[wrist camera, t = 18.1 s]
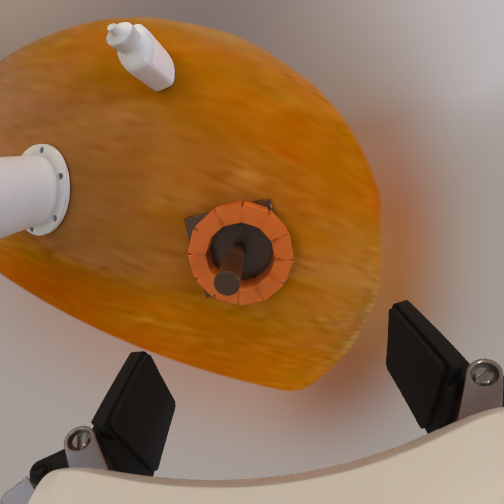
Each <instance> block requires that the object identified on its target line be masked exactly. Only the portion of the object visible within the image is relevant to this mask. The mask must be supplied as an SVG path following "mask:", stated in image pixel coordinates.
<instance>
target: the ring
mask: <svg viewBox="0 0 504 504" xmlns="http://www.w3.org/2000/svg"><path fill="white" fill-rule="evenodd" d="M237 223H245V224H248V225H251V226H254V227H257V228H259V229H260V230H261V231H262V232H263V233H264V234H265V235H266V236H267V237H268V238H269V240H270V241H271V242H272V247H273V252H274V253H273V256H272V259H271V262H270V264H269V267H268V268H267V269H266V270H264V271H263V272H262V273H261V274H260V275H258V276H257V277H256V278H251V279H245V280H241V283H240V288H239V290H238V291H237V292H236V293H235V294H233V295H230V296H225V295H222V294H220V293H219V292H217V291H216V289H215V287H214V278H215V276H216V273H217V271H218V268H217V267H216V266H215V265H214V263H213V259H212V256H211V252H210V246H211V242H212V239H213V235H214V234H216V233H217V232H218V231H219V230H220V229H221V228H222V227H223V226H228V225H232V224H237ZM187 253H189V254H188V255H187V256H188V260H189V263H190V267H191V270H192V273H193V277H194V278H196V277H197V278H196V281H197V282H198V283H199V284H200V285H201V286H202V287H203V288H204V289H205V290H206V291H207V292H208V293H209V294H210V295H211V296H214V295H215V299H219V300H222V301H225V302H228V303H232V304H235V305H237V304H238V301H239V305H244V304H250V303H256V302H261V301H263V298H264V299H265V300H266V299H268V298H269V297H270V296H271V295H273V294H274V293H275V292H276V291H278V290H279V289H280V288H281V287H283V283H286V280H287V278H288V275H289V272H290V270H291V267H292V265H293V259H294V255H293V249H292V244H291V238H290V234H289V232H288V230H287V228H286V226H285V225H284V224H283V223H282V222H281V221H280V219H279V218H278V217H277V216H276V215H275V214H274V213H273V212H272V210H269V211H268V208H267V207H264V206H261V205H258V204H255V203H252V202H249V201H245V202H244V204H243V201H242V200H241V201H236V202H232V203H227V204H223V205H219V206H218V207H216V208H214V209H213V210H212V211H211V212H210V213H209V214H208V215H207V216H206V217H205V218H203V219H202V220H201V221H200V222H199V223H198V224H197V225H196V226H195V229H194V230H193V232H192V236H191V240H190V244H189V248H188V251H187Z"/></svg>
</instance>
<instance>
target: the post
mask: <svg viewBox="0 0 504 504" xmlns="http://www.w3.org/2000/svg"><path fill="white" fill-rule="evenodd" d="M252 203H255V204H258V205H261V206H264V207H267V208H268V211H269V210H272V206H271V201H270V199H265V200H260V201H255V202H252ZM272 212H273V211H272ZM209 213H210V212H207V213H202V214H198V215H194V216H190V217H187V218H186V219H184V220H185V224H186V228H187V232H188V235H189V239H190V240H191V236H192V232H193V230H194V229H195V226H196V225H197V224H198V223H199V222H200V221H201V220H202V219H203V218H205V217H206V216H207V215H208V214H209ZM210 252H211V256H212V259H213V263H214V265H215V266H216V267H217V268H218V271H217V273H216V276H215V278H214V287H215V289H216V291H217V292H219V293H220V294H222V295H225V296H230V295H233V294H235V293H236V292H237V291H238V290H239V288H240V283H241V280H245V279H251V278H256V277H257V276H258V275H260V274H261V273H262V272H263V271H264V270H266V269H267V268H268V267H269V264H270V262H271V259H272V256H273V253H274V252H273V247H272V242H271V241H270V240H269V238H268V237H267V236H266V235H265V234H264V233H263V232H262V231H261V230H260V229H259V228H257V227H254V226H251V225H248V224H245V223H237V224H232V225H228V226H223V227H222V228H221V229H220V230H219V231H218V232H217V233H216V234H214V235H213V239H212V242H211V246H210ZM286 283H287V280H286ZM204 291H205V294H206V297H207V298H208V297H213V296H211V295H210V294H209V293H208V292H207V291H206V290H205V289H204ZM214 296H215V295H214Z"/></svg>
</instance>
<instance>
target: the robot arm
mask: <svg viewBox="0 0 504 504" xmlns="http://www.w3.org/2000/svg"><path fill="white" fill-rule="evenodd" d="M69 196H70V179H69V173H68V169H67V166H66V163H65V161H64V159H63V156H62V155H61V154H60V152H59V151H58V150H57V149H56V148H54V147H53V146H51V145H48V144H36V145H34V146H31V147H30V148H28V149H27V150H26V151H25V152H24V153H23V154H22V156H10V157H0V239H2V238H4V237H7V236H9V235H12V234H15V233H17V232H20V231H23V230H27V231H28V232H30V233H31V234H34V235H39V236H41V235H45V234H48V233H50V232H52V231H54V230H55V229H56V228H57V227H58V226H59V225H60V223H61V222H62V220H63V218H64V216H65V214H66V211H67V208H68V203H69ZM386 365H387V369H388V371H389V373H390V374H391V376H392V378H393V380H394V381H395V383H396V385H397V386H398V388H399V390H400V391H401V394H402V395H403V397H404V399H405V401H406V402H407V404H408V406H409V408H410V410H411V411H412V413H413V415H414V417H415V419H416V421H417V422H418V424H419V426H420V427H421V428H425V429H426V431H427V433H428V434H427V435H425V436H422V437H420V438H418V439H415V440H413V441H411V442H408V443H405V444H403V445H401V446H397V447H395V448H392V449H389V450H387V451H384V452H381V453H378V454H375V455H372V456H369V457H365V458H362V459H359V460H355V461H351V462H348V463H344V464H340V465H336V466H332V467H327V468H323V469H319V470H313V471H308V472H303V473H296V474H290V475H283V476H275V477H266V478H255V479H240V480H187V479H171V478H161V477H153V475H154V471H156V470H157V469H158V467H159V464H160V460H161V456H162V453H163V449H164V445H165V442H166V438H167V434H168V431H169V427H170V424H171V421H172V417H173V414H174V410H175V401H174V399H173V397H172V395H171V393H170V391H169V390H168V388H167V386H166V384H165V382H164V380H163V378H162V377H161V375H160V373H159V371H158V369H157V367H156V365H155V363H154V361H153V359H152V357H151V356H150V355H149V354H147V353H146V352H144V351H142V352H132V353H130V355H129V356H128V358H127V360H126V361H125V364H124V365H123V367H122V368H121V370H120V372H119V373H118V375H117V377H116V379H115V380H114V382H113V384H112V385H111V387H110V389H109V391H108V393H107V394H106V396H105V398H104V400H103V402H102V403H101V405H100V407H99V409H98V411H97V412H96V414H95V416H94V418H93V420H92V422H91V423H92V424H93V425H94V427H93V429H91V428H90V427H87V426H80V427H76V428H75V429H73V430H71V431H70V432H69V433H68V434H67V436H66V438H65V440H64V447H65V449H63V450H61V451H59V452H57V453H55V454H53V455H50V456H48V457H46V458H44V459H42V460H39V461H38V462H36V463H35V464H34V465H33V466H32V468H31V470H30V479H29V478H28V477H26V478H25V479H23V480H22V481H21V482H19V483H18V484H17V485H16V486H14V487H13V488H12V489H11V490H9V491H8V492H7V493H5V494H4V495H3V497H2V499H1V504H504V376H503V371H502V368H501V367H500V365H499V364H497V363H496V362H494V361H493V360H490V359H479V360H476V361H474V362H472V363H471V364H469V363H468V362H467V361H466V359H465V358H464V357H463V356H462V355H461V354H460V353H459V352H458V351H457V349H456V348H455V347H454V346H453V345H452V344H451V343H450V342H449V341H448V340H447V339H446V338H445V337H444V336H443V335H442V334H441V333H440V332H439V331H438V330H437V329H436V328H435V327H434V326H433V325H432V324H431V323H430V322H429V321H428V320H427V319H426V318H425V317H424V316H423V315H422V314H421V313H420V312H419V311H418V310H417V309H416V308H415V307H414V306H413V305H412V304H411V303H410V302H409V301H408V300H405V301H402V302H399V303H395V304H394V305H393V306H392V309H390V310H389V322H388V343H387V357H386ZM437 429H438V430H437ZM435 430H436V431H435ZM433 431H434V432H433ZM431 432H432V433H431Z"/></svg>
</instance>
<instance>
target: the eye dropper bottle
mask: <svg viewBox="0 0 504 504" xmlns="http://www.w3.org/2000/svg"><path fill="white" fill-rule="evenodd" d="M107 29H108V31H109V33H108V35H107V38H106V40H107V43H108V44H109V45H110V46H112V47H113V48H114V49H116V50H117V55H118V58H119V60H120V62H121V64H122V65H123V67H124V68H125V69H126V70H127V71H128V72H129V73H131V74H132V75H133V76H135V77H136V78H137V79H139V80H140V81H142V82H143V83H145V84H146V85H147V86H149V87H150V88H152V89H153V90H155V91H160V90H163V89H165V88H167V87H170V86H171V85H172V84H173V83H174V78H175V68H174V64H173V61H172V59H171V57H170V55H169V54H168V53H167V52H166V50H165V49H164V48H163V47H162V46H161V44H160V43H159V42H158V41H157V40H156V39H155V38H154V36H153V35H152V34H151V33H150V32H149V31H148V30H147V29H146V28H145V27H144V26H142V25H140V24H135V25H133V26H132V25H131V24H130V23H128V22H122V23H119V24H117V25H116V24H114V23H112V24H110V25H109V26H108V28H107Z"/></svg>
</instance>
